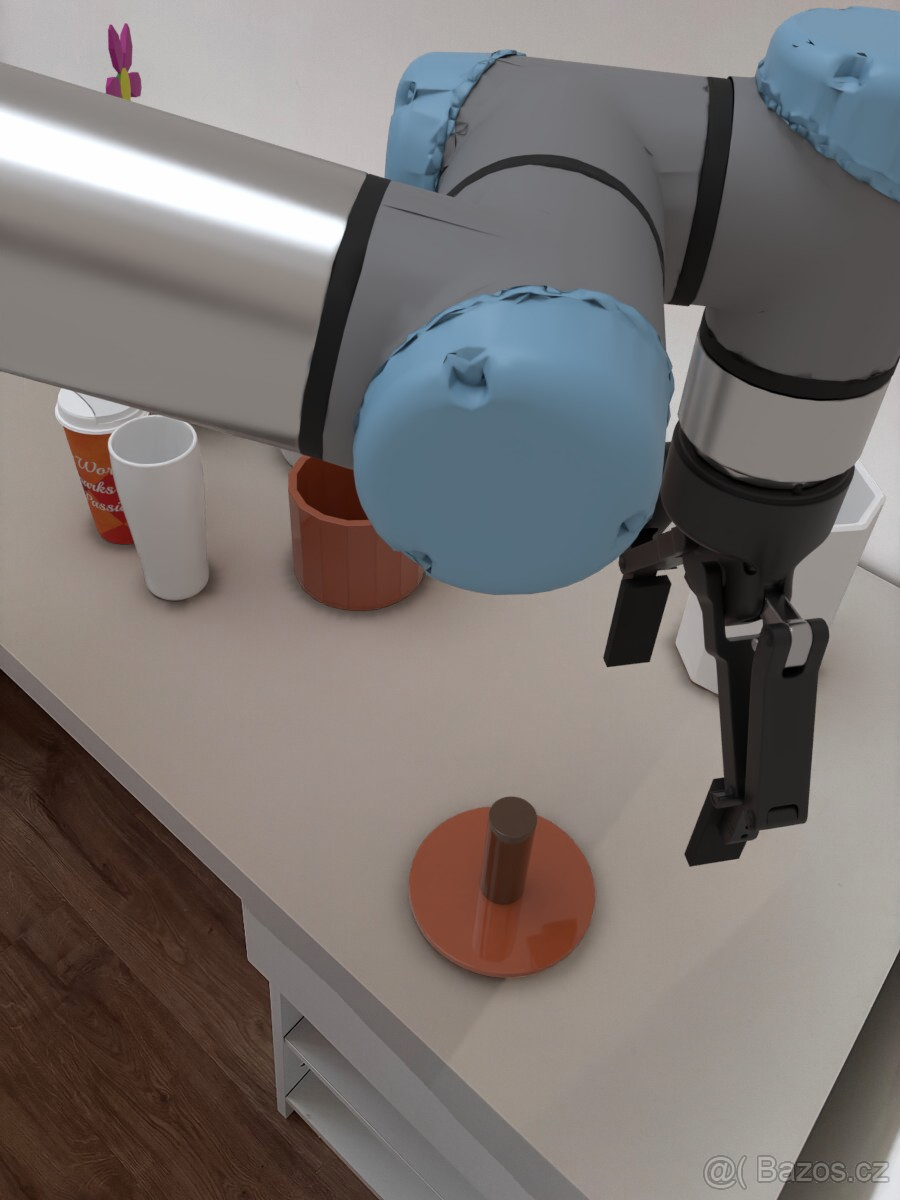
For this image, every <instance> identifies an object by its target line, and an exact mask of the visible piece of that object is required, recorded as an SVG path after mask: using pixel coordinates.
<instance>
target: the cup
mask: <svg viewBox="0 0 900 1200" xmlns="http://www.w3.org/2000/svg"><path fill="white" fill-rule="evenodd" d="M886 500H887V496H886V494H885V493H884V492H883V490H882V489H881V488H880V486H879V485H878V484H877V482H876V481H875V479H874V478H873V476H872V475H871V474H870V472H869V471H868V469H867V468H866V466H865V465H864V464H863V463H862V461H861V460H860V459H858V460H857V462H856V463H855V471H854V476H853V479H852V481H851V484H850V486H849V489H848V491H847V494H846V496H845V499H844V501H843V504H842V506H841V508H840V511H839V513H838V516H837V518H836V521H835V523H834V526H833V528H832V530H831V532H830V534H829V536H828V537H827V538H826V540H825V541H824V542H823V543H822V544H821V545H820V546H819V547H817V548H816V549H815V550H814V551H813V552H811V553H810V554H809V555H808V556H807V557H806V558H804V559H803V560H802V561H801V562H800V563H799V564H798V565H797V566H796V568H795V570H794V575H793V585H792V598H791V601H790V603H791V604H792V606H793V607H794V608H795V610H796V611H797V612H798V614H799V615H800V616H801V618H802V619H813V618H823V619H824V620H825V621H826V623H827V625H828V628H829V630H830V629H831V627H832V624H833V622H834V620H835V617H836V616H837V613H838V611H839V609H840V607H841V604H842V601H843V599H844V597H845V595H846V592H847V590H848V589H849V586H850V583H851V581H852V579H853V576H854V574H855V571H856V570H857V567H858V565H859V562H860V560H861V558H862V556H863V553H864V551H865V548H866V546H867V544H868V542H869V540H870V537H871V536H872V533H873V530H874V528H875V526H876V524H877V521H878V519H879V517H880V514H881V512H882V510H883V507H884V505H885V503H886ZM689 590H690V591H689V594H688V597H687V600H686V605H685V608H684V612H683V614H682V618H681V621H680V624H679V628H678V632H677V634H676V638H675V646H676V648H677V651H678V653H679V655H680V658H681V660H682V662H683V664H684V667H685V669H686V672H687V674H688V676H689V679H690V680H691V681H692V682H693V683H694V684H697V685H698V686H700V687H702V688H704V689H705V690H708V691H710V692H712V693H714V694H715V695H718V684H717V669H716V660H715V658H714V657H713V656H711V655H710V654H708V653H707V652H706V650H705V646H704V631H703V617H702V611H701V608H700V605H699V602H698V599H697V597H696V595H695V594H694V593H693V591H692V590H691V589H689ZM762 627H763V620H759V621H756V622H753V623H749V624H743V625H735V626H725V633H726V638H729V637H737V636H745V635H754V634H758V633H760V632H761V629H762Z"/></svg>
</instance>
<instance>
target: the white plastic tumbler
mask: <svg viewBox="0 0 900 1200" xmlns="http://www.w3.org/2000/svg"><path fill="white" fill-rule="evenodd" d="M108 450H109V456H110V462H111V468H112V473H113V478H114V482H115V486H116V490H117V493H118V496H119V499H120V503H121V506H122V508H123V511H124V514H125V517H126V520H127V523H128V526H129V529H130V532H131V535H132V538H133V541H134V543H133V544H134V547H135V550H136V553H137V556H138V559H139V562H140V565H141V568H142V572H143V578H144V582H145V585H146V587H147V589H148V590H149V591H150V592H151V593H152V594H153V595H154V596H156V597H157V598H160V599H162V600H165V601H166V600H167V601H183V600H187V599H190V598H193V597H194V596H197V595H198V594H200V592H202V591H203V590H204V589H205V587H206V586H207V584H208V583H209V579H210V568H209V560H208V546H207V522H206V520H207V518H206V492H205V491H206V489H205V488H206V487H205V475H204V467H203V460H202V459H203V458H202V454H201V448H200V444H199V439H198V434H197V432H196V430H195V428H194V427H193V426H192V424H190V423H187V422H183V421H179V420H176V419H172V418H169V417H165V416H161V415H158V414H149V416H143V417H138V418H135V419H132V420H130V421H128V422H125V423H124V424H122V425H120V426H119V427H118V428H117V429H116V430H114V432H113V433H112V434H111V436H110V438H109V441H108Z"/></svg>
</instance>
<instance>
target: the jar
mask: <svg viewBox="0 0 900 1200" xmlns="http://www.w3.org/2000/svg"><path fill="white" fill-rule="evenodd" d="M287 476H288V477H287V480H288V482H287V492H288V493H287V495H288V507H289V519H290V532H291V533H290V534H291V547H292V559H293V571H294V574H295V577H296V579H297V582H298V583H299V585H300V586H301V588H302V589H303V590H304V591H305V592H306V593H307V594H308V595H309V596H311V598H313V599H314V600H316V601H318V602H320V603H322V604H324V605H326V606H328V607H332V608H336V609H340V610H345V611H346V610H347V611H353V612H354V611H357V612H358V611H362V612H363V611H374V610H379V609H382V608H386V607H390V606H392V605H394V604H396V603H399V602H400V601H402V600H404V599H405V598H406V597H408V596H410V594H412V593H413V592H414V591H415V589H417V587H418V586H419V584H420V582H421V581H422V579H423V576H424V572H425V571H424V569H423V567H422V566H420V565H419V564H417V563H416V562H414V561H413V560H411V559H410V558H408V557H407V556H406V555H404V554H403V553H402V552H401V551H393V550H392V548H391V547H390V546H389V545H388V544H387V543H386V542H385V541H384V540H383V539H382V538H381V537H380V536H379V535H378V534H377V533H376V531H375V529H374V527H373V526H372V524H371V522H370V521H369V519H368V517H367V515H366V513H365V512H364V510H363V508H362V506H361V503H360V500H359V497H358V494H357V490H356V485H355V478H354V470H352V469H348V468H345V467H341V466H338V465H335V464H332V463H329V462H326V461H323V460H320V459H316V458H313V457H309V456H306V455H303V456H301V457H300V458H299V459H298V460H297V462H296V463H295V465H294V466H292V467H291V469H290V470H289V472H288V475H287Z"/></svg>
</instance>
